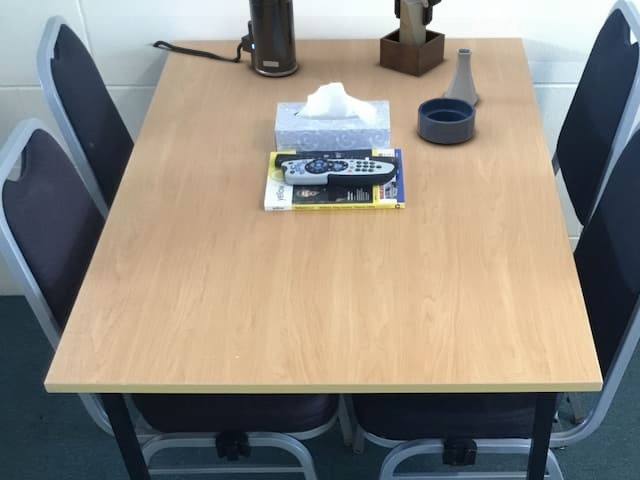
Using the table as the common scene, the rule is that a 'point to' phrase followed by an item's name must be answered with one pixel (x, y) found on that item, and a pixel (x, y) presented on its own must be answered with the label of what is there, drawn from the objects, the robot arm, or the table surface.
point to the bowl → (446, 120)
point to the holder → (412, 53)
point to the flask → (462, 79)
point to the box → (412, 23)
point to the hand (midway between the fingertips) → (412, 20)
